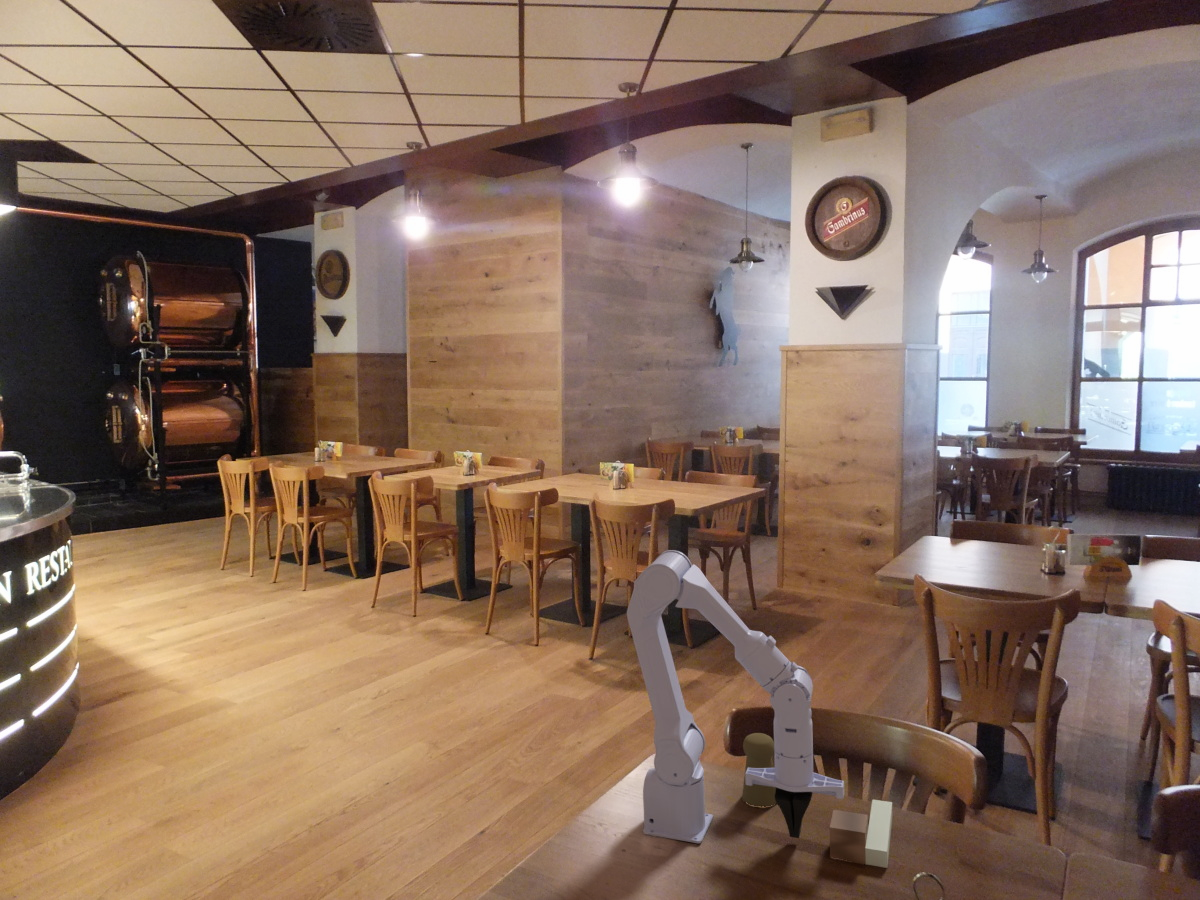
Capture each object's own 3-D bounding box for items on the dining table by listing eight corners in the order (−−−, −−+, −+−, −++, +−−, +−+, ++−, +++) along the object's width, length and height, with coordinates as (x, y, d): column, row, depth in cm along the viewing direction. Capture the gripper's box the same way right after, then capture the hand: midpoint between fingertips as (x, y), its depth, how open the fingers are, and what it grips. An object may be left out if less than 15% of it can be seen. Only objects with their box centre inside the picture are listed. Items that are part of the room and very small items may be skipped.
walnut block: (830, 859, 125) (829, 827, 124) (834, 840, 129) (833, 809, 129) (865, 865, 123) (865, 832, 122) (868, 846, 127) (867, 814, 127)
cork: (778, 809, 138) (777, 745, 137) (741, 807, 140) (739, 744, 138) (778, 790, 144) (776, 729, 143) (742, 788, 146) (740, 727, 144)
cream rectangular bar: (865, 864, 123) (865, 848, 123) (872, 814, 136) (872, 799, 135) (887, 868, 122) (887, 851, 121) (892, 817, 135) (892, 802, 134)
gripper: (845, 743, 128) (847, 827, 130) (751, 731, 134) (753, 812, 135) (840, 765, 122) (842, 853, 123) (741, 752, 127) (743, 836, 129)
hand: (795, 834), depth 129 cm, fingers closed
